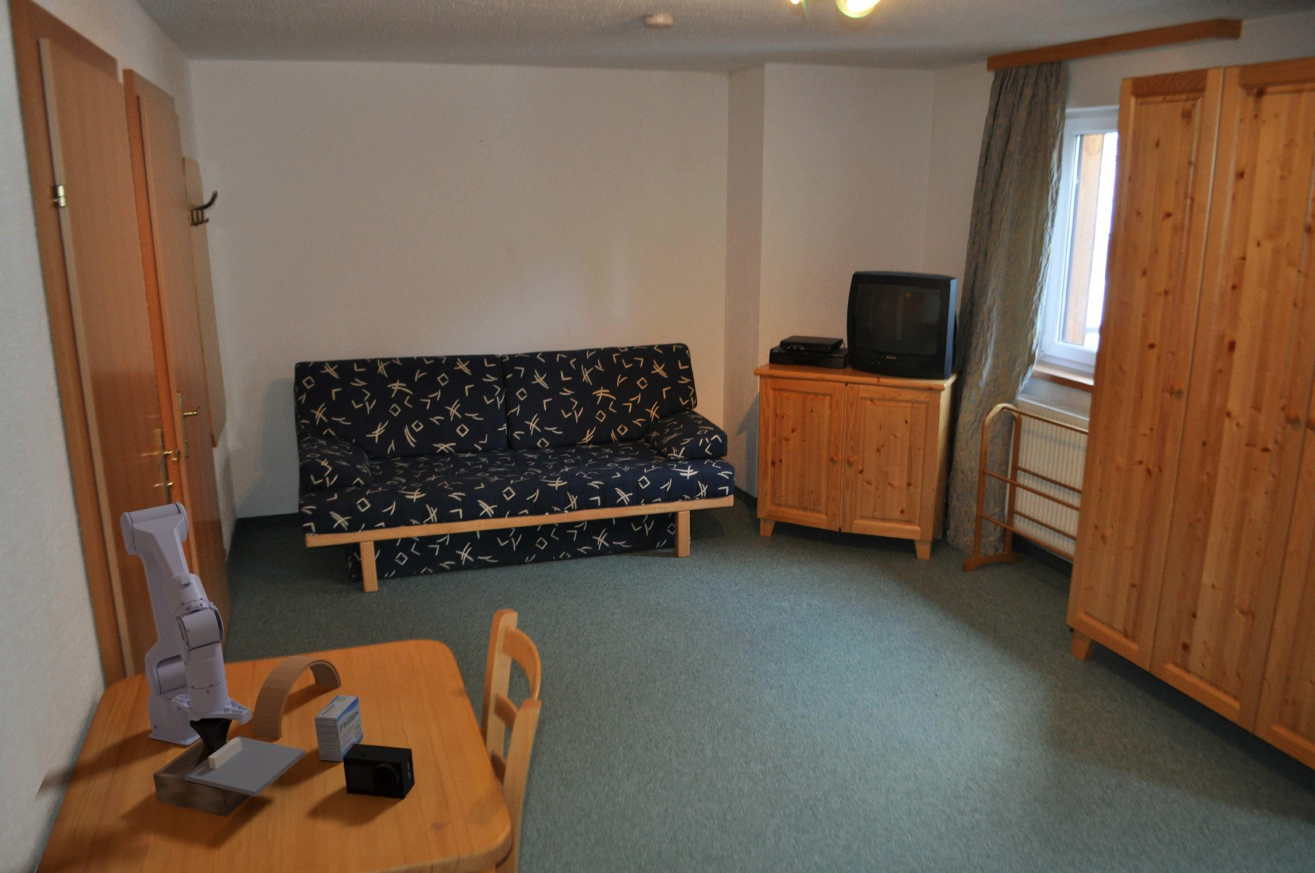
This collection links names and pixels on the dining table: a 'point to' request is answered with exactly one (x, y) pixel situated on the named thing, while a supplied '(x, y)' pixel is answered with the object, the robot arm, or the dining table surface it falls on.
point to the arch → (287, 691)
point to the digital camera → (379, 771)
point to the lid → (245, 765)
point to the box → (194, 785)
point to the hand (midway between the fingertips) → (217, 753)
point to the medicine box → (338, 727)
